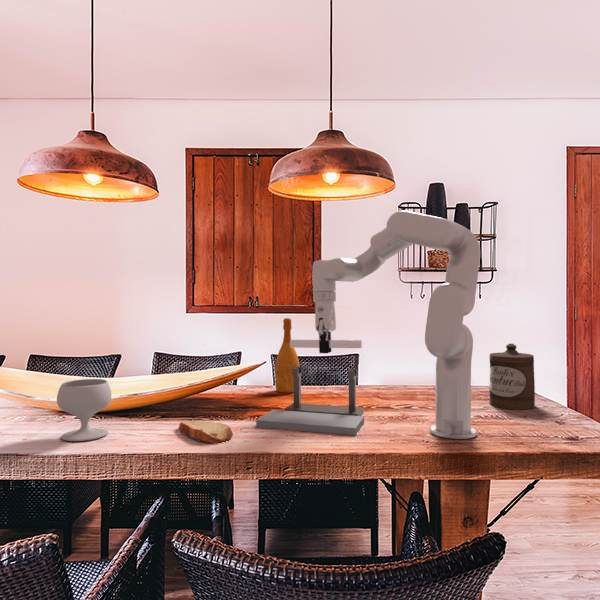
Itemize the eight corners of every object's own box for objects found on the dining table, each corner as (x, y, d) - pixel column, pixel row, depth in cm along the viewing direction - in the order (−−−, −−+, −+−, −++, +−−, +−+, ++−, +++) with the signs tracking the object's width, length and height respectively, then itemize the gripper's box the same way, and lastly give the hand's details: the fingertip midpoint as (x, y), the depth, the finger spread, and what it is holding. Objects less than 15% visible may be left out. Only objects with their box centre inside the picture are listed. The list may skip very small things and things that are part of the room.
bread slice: (182, 426, 147) (182, 414, 147) (240, 427, 146) (240, 415, 146) (160, 444, 129) (160, 430, 129) (227, 446, 128) (227, 431, 128)
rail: (360, 348, 158) (360, 340, 158) (290, 347, 165) (289, 340, 165) (361, 347, 160) (361, 339, 160) (292, 346, 167) (292, 339, 167)
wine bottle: (303, 390, 202) (303, 318, 202) (291, 394, 194) (291, 319, 194) (283, 388, 207) (283, 317, 207) (270, 392, 199) (270, 318, 199)
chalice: (52, 434, 137) (51, 381, 137) (103, 426, 146) (103, 376, 146) (63, 447, 126) (62, 389, 126) (118, 437, 135) (118, 383, 135)
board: (355, 435, 136) (355, 428, 136) (256, 426, 145) (256, 420, 145) (364, 422, 150) (364, 416, 150) (272, 415, 159) (272, 409, 159)
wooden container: (481, 404, 175) (481, 343, 175) (501, 399, 184) (501, 341, 184) (523, 412, 164) (523, 346, 163) (541, 405, 173) (541, 343, 173)
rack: (358, 419, 154) (358, 372, 154) (284, 413, 162) (283, 369, 162) (364, 412, 164) (364, 368, 164) (293, 407, 171) (293, 365, 171)
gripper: (329, 297, 154) (330, 355, 154) (340, 297, 169) (341, 350, 169) (306, 297, 156) (307, 355, 156) (319, 297, 171) (320, 350, 171)
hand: (325, 352), depth 162 cm, fingers closed on rail, 2 cm apart
